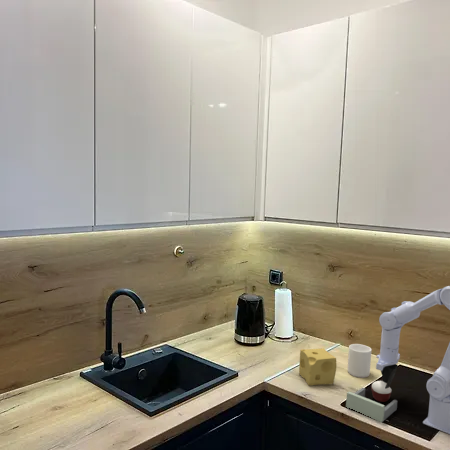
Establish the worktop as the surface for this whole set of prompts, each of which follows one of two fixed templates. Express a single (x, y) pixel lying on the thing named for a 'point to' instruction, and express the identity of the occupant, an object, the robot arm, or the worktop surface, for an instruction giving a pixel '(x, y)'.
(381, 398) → the cocoa
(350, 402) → the box
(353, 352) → the cup
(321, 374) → the cheese
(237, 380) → the worktop surface
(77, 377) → the worktop surface
